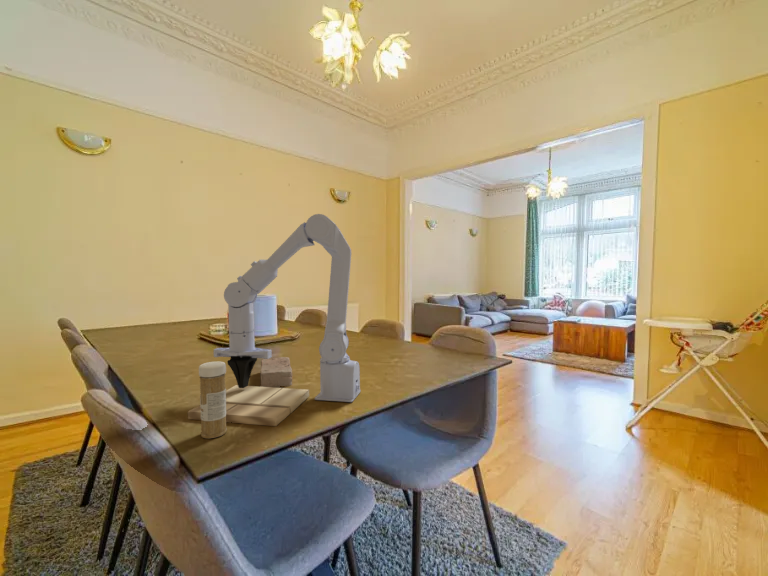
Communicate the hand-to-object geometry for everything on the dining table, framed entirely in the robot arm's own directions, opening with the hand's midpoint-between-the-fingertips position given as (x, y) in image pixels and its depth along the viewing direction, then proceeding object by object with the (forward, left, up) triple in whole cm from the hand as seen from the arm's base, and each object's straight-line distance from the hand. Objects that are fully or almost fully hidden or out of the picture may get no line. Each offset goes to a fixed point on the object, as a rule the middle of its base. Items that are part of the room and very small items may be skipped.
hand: (243, 386), depth 85 cm
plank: (-6, +2, -3) cm, 7 cm away
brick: (0, -16, -3) cm, 16 cm away
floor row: (-6, +11, -3) cm, 12 cm away
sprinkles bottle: (-6, +19, -3) cm, 20 cm away
